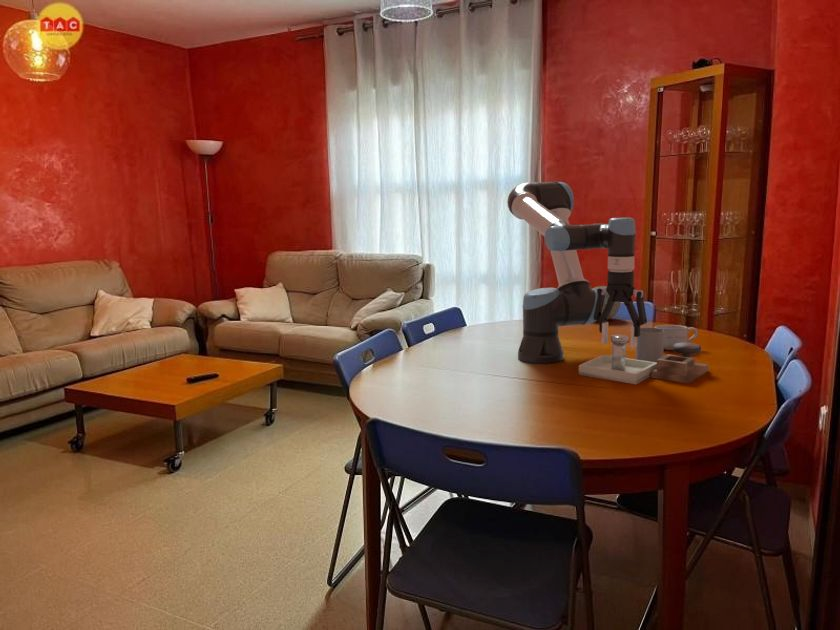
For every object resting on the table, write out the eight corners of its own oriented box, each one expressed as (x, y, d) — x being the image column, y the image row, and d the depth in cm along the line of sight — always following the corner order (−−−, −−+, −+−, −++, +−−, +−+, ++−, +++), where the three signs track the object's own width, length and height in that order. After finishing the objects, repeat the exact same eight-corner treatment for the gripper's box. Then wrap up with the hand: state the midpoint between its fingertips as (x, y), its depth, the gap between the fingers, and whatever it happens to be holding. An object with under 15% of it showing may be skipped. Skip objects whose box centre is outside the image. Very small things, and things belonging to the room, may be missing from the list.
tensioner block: (651, 377, 188) (651, 351, 186) (672, 365, 200) (673, 340, 199) (689, 383, 180) (690, 356, 179) (709, 370, 193) (710, 344, 191)
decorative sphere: (585, 323, 271) (586, 288, 269) (582, 316, 286) (583, 283, 283) (622, 323, 269) (622, 288, 266) (617, 316, 283) (618, 283, 281)
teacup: (653, 351, 219) (654, 328, 218) (654, 344, 229) (655, 322, 228) (697, 353, 214) (698, 330, 212) (696, 346, 224) (697, 324, 222)
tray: (578, 374, 193) (578, 365, 192) (602, 363, 205) (602, 354, 204) (636, 384, 181) (636, 374, 180) (658, 372, 193) (658, 362, 192)
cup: (664, 363, 203) (665, 333, 201) (637, 363, 204) (638, 332, 202) (660, 357, 211) (661, 327, 209) (634, 356, 212) (635, 327, 211)
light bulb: (606, 370, 192) (607, 336, 190) (613, 366, 196) (615, 333, 194) (622, 373, 189) (624, 339, 187) (629, 369, 193) (631, 336, 191)
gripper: (581, 270, 192) (580, 343, 196) (651, 273, 178) (648, 352, 182) (593, 267, 197) (592, 338, 201) (661, 270, 183) (658, 347, 187)
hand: (619, 345), depth 191 cm, fingers open, 8 cm apart
